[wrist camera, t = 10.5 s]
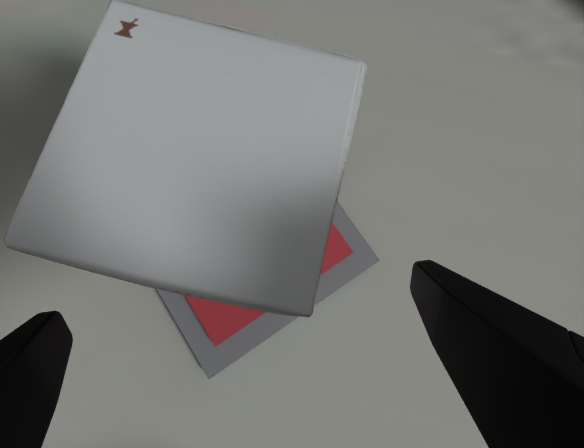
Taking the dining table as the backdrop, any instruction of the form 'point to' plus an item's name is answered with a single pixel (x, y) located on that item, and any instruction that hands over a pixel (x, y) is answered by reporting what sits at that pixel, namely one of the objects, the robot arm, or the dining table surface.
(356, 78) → the supplement box
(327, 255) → the ink pad tray
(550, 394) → the robot arm
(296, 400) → the dining table surface
